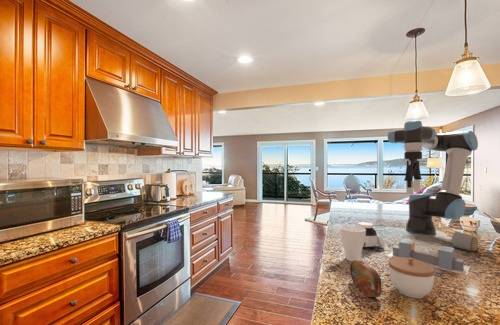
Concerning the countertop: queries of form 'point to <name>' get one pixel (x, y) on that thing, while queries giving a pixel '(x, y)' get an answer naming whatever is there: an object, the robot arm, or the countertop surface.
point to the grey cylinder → (464, 241)
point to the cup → (353, 241)
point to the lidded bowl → (411, 276)
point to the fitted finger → (445, 257)
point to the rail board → (433, 260)
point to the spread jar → (371, 236)
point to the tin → (365, 278)
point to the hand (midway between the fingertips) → (413, 193)
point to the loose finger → (406, 247)
